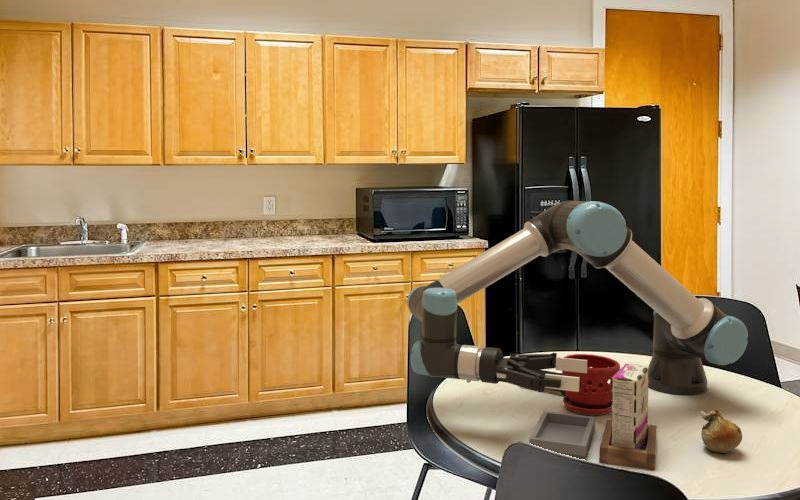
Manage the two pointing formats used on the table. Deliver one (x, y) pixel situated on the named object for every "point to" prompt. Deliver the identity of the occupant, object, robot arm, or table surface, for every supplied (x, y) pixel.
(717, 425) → the onion
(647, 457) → the brown rectangular open box
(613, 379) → the candy bar box
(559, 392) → the black sponge
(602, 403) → the plant pot
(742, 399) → the table surface
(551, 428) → the tray
